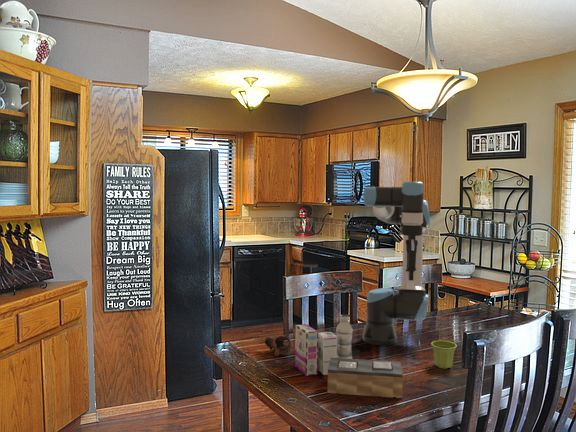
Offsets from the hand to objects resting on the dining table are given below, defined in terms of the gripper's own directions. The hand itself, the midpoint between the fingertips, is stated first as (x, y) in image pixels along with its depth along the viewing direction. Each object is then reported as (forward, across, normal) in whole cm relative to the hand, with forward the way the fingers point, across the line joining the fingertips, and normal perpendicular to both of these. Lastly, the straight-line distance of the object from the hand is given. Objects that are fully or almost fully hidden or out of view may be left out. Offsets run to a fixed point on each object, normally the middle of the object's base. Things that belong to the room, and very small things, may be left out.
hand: (410, 288), depth 184 cm
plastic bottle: (+33, -4, -24) cm, 41 cm away
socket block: (+32, +15, -16) cm, 39 cm away
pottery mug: (+33, -16, -52) cm, 64 cm away
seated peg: (+32, +15, -22) cm, 42 cm away
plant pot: (+33, -12, +14) cm, 37 cm away
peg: (+32, +15, -10) cm, 37 cm away
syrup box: (+33, +2, -30) cm, 44 cm away
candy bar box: (+33, +2, -38) cm, 50 cm away
